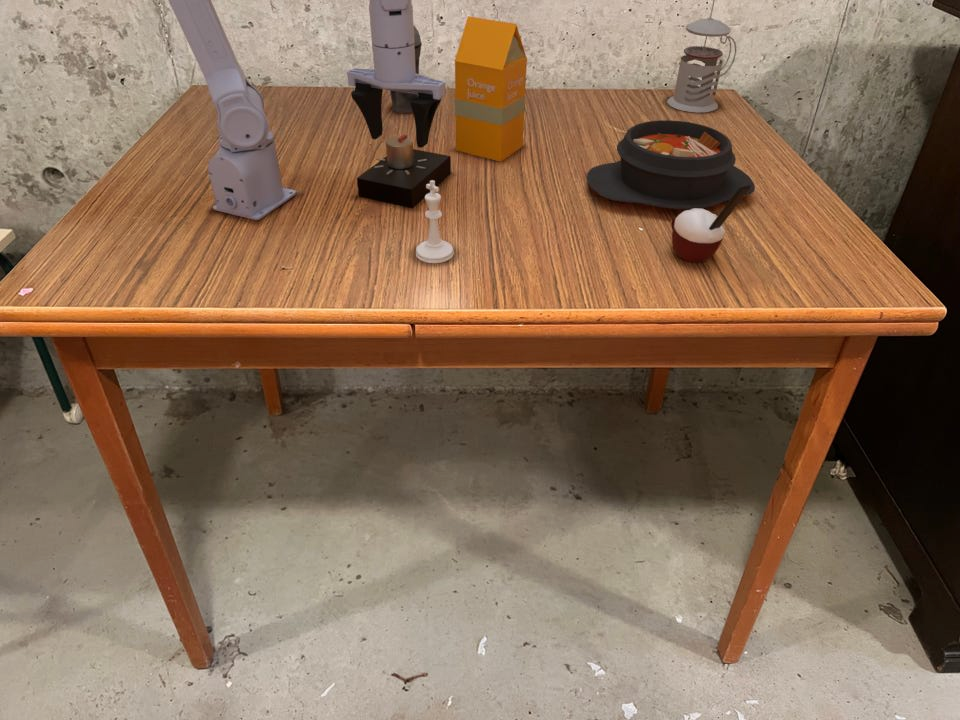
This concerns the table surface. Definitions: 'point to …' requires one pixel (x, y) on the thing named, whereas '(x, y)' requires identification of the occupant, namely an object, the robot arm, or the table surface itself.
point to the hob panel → (404, 179)
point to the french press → (700, 69)
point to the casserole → (671, 167)
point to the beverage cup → (401, 98)
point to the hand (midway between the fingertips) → (399, 141)
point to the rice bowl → (702, 230)
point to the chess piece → (434, 232)
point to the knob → (400, 152)
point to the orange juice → (490, 89)
